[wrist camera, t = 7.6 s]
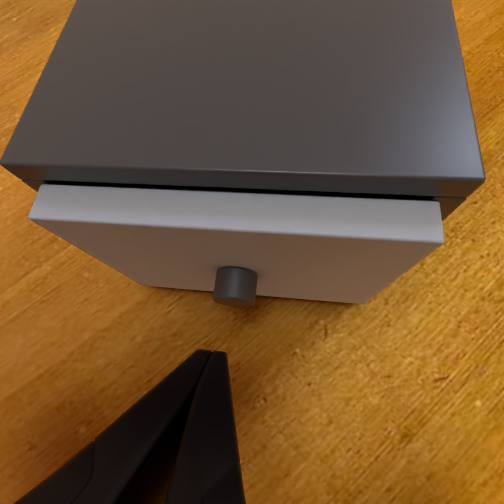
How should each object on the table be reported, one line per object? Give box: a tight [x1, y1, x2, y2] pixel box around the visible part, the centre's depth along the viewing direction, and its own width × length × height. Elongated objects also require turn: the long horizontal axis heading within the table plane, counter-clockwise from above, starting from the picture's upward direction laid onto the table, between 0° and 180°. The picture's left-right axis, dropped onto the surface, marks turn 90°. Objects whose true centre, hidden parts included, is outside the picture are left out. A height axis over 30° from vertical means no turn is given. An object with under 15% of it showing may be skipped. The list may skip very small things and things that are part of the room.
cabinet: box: [0, 0, 486, 221], centre depth 14 cm, size 14×13×10 cm
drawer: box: [28, 183, 444, 307], centre depth 14 cm, size 14×11×8 cm
